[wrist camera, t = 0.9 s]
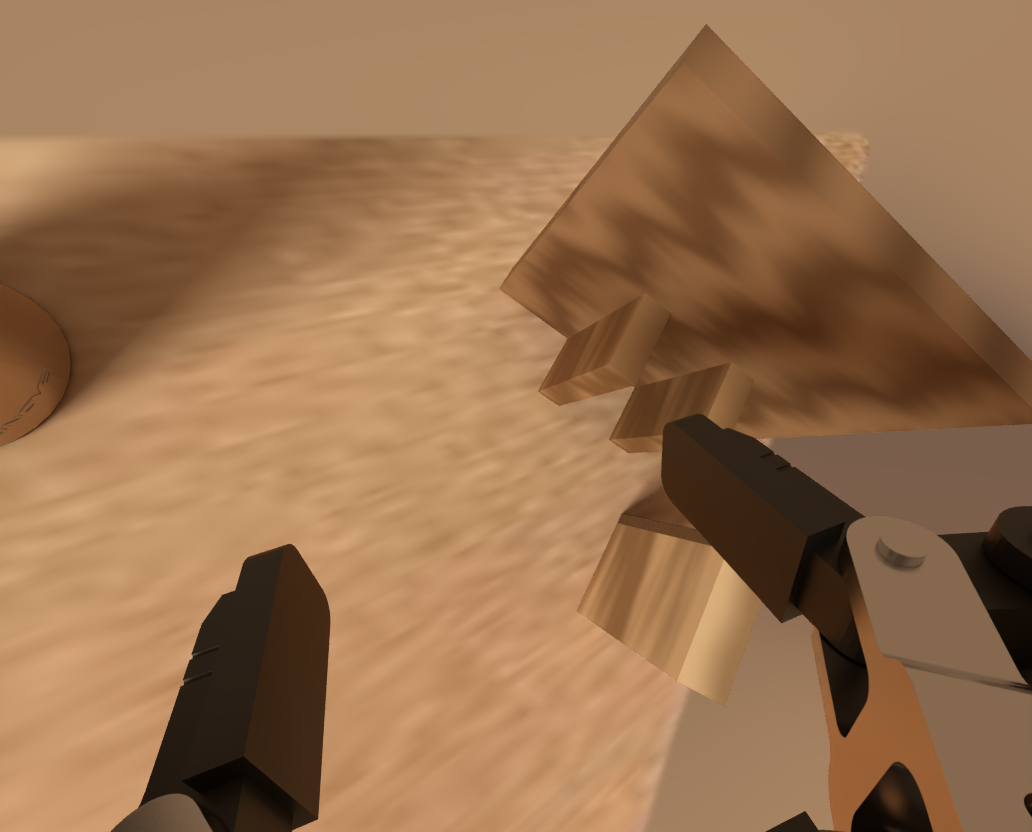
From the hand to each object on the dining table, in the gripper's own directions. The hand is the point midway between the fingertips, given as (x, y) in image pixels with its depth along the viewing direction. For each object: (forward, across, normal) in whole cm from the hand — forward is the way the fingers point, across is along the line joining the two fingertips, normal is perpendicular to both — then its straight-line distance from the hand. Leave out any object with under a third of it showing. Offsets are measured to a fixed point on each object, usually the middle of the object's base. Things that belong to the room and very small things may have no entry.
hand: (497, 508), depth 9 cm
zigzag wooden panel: (+21, -13, +11) cm, 27 cm away
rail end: (+13, -9, +23) cm, 28 cm away
